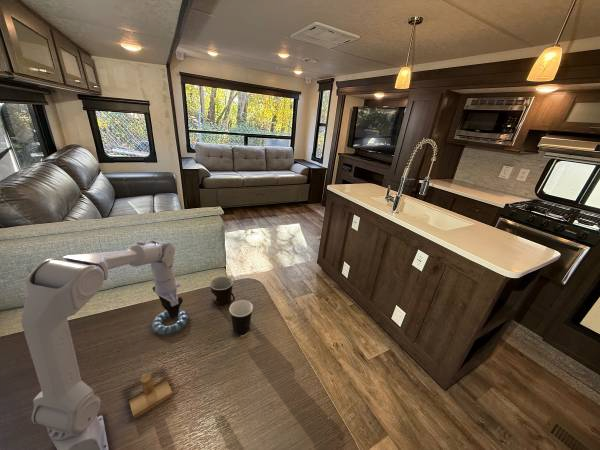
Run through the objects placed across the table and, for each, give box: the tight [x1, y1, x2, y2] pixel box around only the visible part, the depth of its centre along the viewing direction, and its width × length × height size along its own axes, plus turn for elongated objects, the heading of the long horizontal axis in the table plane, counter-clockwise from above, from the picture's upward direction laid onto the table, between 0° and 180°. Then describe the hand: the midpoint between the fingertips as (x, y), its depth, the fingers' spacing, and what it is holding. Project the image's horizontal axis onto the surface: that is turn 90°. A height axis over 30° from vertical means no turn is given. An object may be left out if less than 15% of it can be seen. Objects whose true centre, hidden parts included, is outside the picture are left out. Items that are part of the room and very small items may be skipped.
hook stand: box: [128, 373, 173, 420], centre depth 66 cm, size 9×9×6 cm
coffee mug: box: [209, 275, 236, 307], centre depth 97 cm, size 12×9×10 cm
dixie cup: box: [228, 299, 254, 338], centre depth 86 cm, size 8×8×11 cm
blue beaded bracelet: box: [151, 308, 189, 336], centre depth 88 cm, size 11×11×3 cm
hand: (170, 309), depth 82 cm, fingers open, 7 cm apart
